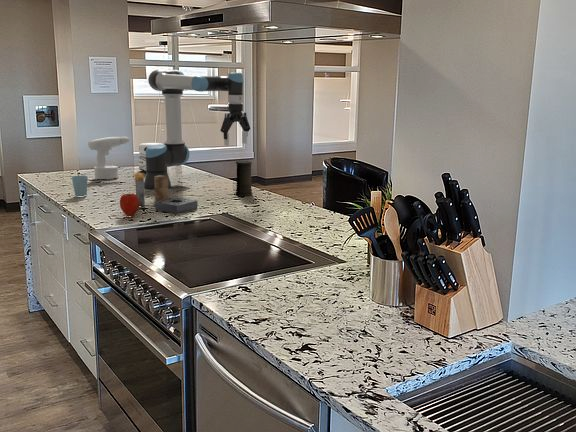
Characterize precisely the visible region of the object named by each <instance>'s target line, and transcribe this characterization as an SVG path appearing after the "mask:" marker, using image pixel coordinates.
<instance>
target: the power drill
mask: <svg viewBox="0 0 576 432" xmlns="http://www.w3.org/2000/svg"><path fill="white" fill-rule="evenodd" d="M129 142H130V138H129V137H128V136H109V137H108V136H107V137H101V138H96V139H92V140H89V141H88V144H87V146H88V149H90V150H91V151H96V152H97V153H96V162H97V166H93V171H94V178H95V180H97V179H107V180H115V179H114V178H117V179H118V177H119V175H118V173H119V171H118V170H119V169H118V168H119V167H118V166H116V165H107V164H106V163H107V161H106V157H107V156H109V154H110V153H109V152H110V151H111V150H112V148H116V147H119V146H121V145H125V144H128V143H129Z"/></svg>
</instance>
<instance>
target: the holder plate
mask: <svg viewBox="0 0 576 432" xmlns="http://www.w3.org/2000/svg"><path fill="white" fill-rule="evenodd" d="M198 204H199V203H198V200H196V199H190V198H184V197H178V196H174V197H169V199H165V200H155V202H154V210H155V209H156V210H155V211H158V210H161V211H160V212H163V211H165V212H164V213H168V212H169V213H168V214H174V215H179V213H180V214H184V213H187V212H191V211H194V210H198V209H199V208H198Z"/></svg>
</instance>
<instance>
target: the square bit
mask: <svg viewBox="0 0 576 432" xmlns="http://www.w3.org/2000/svg"><path fill="white" fill-rule="evenodd" d="M168 176H169V175H168ZM168 176H165V175H158V176H155V177H154V184H155V189H154V200H155V199H156V200H155V201H160V200H165V199H169V198H170V197H169V192H170V191H169V188H168Z"/></svg>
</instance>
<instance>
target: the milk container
mask: <svg viewBox="0 0 576 432" xmlns="http://www.w3.org/2000/svg"><path fill="white" fill-rule="evenodd" d="M159 144H163V142H162V143H161V142H143V143H139V144H138V151H139V157H138V158H139V160H138V169H139V170H140V171H141V172H144V173H146V156H145V154H146V148H147V147H149V146H152V145H159Z"/></svg>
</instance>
